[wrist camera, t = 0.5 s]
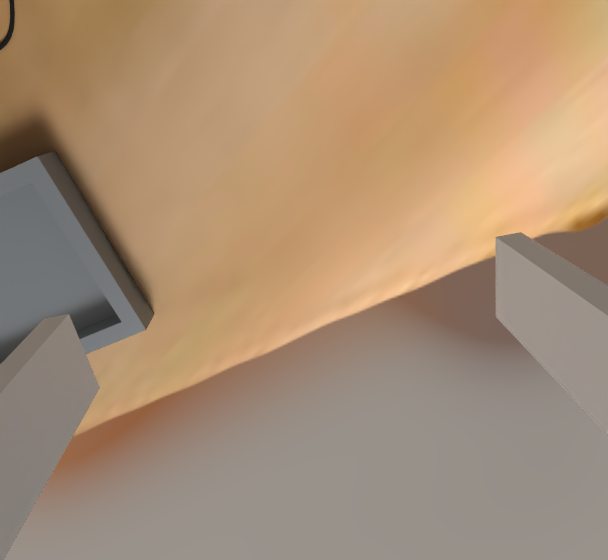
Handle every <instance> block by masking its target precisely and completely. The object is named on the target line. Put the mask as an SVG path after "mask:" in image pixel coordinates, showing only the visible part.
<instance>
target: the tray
mask: <svg viewBox="0 0 608 560" xmlns="http://www.w3.org/2000/svg"><path fill="white" fill-rule="evenodd" d="M66 314H69V315H70V318H71V320H72V323H73V325H74V327H75V330H76V332H77V334H78V337H79V339H80V342H81V344H82V346H83V349H84V351H85V353H86V354H87V353H90V352H92V351H95V350H97V349H100V348H102V347H105V346H107V345H110V344H112V343H115V342H117V341H120V340H122V339H124V338H127V337H129V336H132V335H134V334H137V333H139V332H142V331H144V330H146V329H147V327H148V325H149V323H150V321H151V319H152V318H153V316H154V313H153V312H152V310H151V308H150V307H149V305H148V303H147V302H146V300H145V298H144V297H143V295H142V293H141V292H140V290H139V289H138V287H137V285H136V284H135V282H134V280H133V279H132V277H131V275H130V274H129V272H128V270H127V269H126V267H125V266H124V264H123V262H122V261H121V259H120V257H119V256H118V254H117V252H116V251H115V249H114V247H113V246H112V244H111V243H110V241H109V239H108V238H107V236H106V234H105V233H104V231H103V229H102V228H101V226H100V224H99V223H98V221H97V220H96V218H95V216H94V215H93V213H92V211H91V210H90V208H89V206H88V205H87V203H86V202H85V200H84V198H83V197H82V195H81V193H80V192H79V190H78V188H77V187H76V185H75V183H74V182H73V180H72V179H71V177H70V175H69V174H68V172H67V170H66V169H65V167H64V165H63V164H62V162H61V160H60V159H59V157H58V156H57V154H56V152H55V151H53V152H50V153H47V154H43V155H40V156H37V157H35V158H32V159H30V160H28V161H26V162H24V163H21V164H19V165H17V166H15V167H13V168H10V169H8V170H6V171H4V172H2V173H0V364H1V363H2V362H3V361H4V360H5V359H6V358H7V357H8V356H9V355H10V354H11V353H12V352H13V351H14V350H15V349H16V348H17V347H18V345H19V344H20V343H21V342H22V341H23V340H24V339H25V338H26V337H27V336H28V335H29V334H30V333H31V332H32V331H33V330H34V329H35V328H36V327H37V326H38V324H39V323H40V322H41V321H42V320H43V319H44V318H50V317H55V316H61V315H66Z"/></svg>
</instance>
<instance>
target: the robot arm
mask: <svg viewBox="0 0 608 560" xmlns="http://www.w3.org/2000/svg"><path fill="white" fill-rule="evenodd" d="M496 317H497V318H498V319H499V320H500V321H501V323H502V324H504V326H505V327H506V328H507V329H508V330H509V331H510V332H511V333H512V334H513V335H514V336H515V337H516V338H517V339H518V341H519V342H520V343H521V344H522V345H523V346H524V347H525V348H526V349H527V350H528V351H529V352H530V353H531V354H532V355H533V356H534V357H535V359H537V360H538V362H539V363H540V364H541V365H542V366H543V367H544V368H545V369H546V370H547V371H548V372H549V373H550V374H551V375H552V376H553V378H554V379H555V380H556V381H557V382H558V383H559V384H560V385H561V386H562V387H563V388H564V389H565V390H566V391H567V392H568V393H569V394H570V396H571V397H572V398H573V399H574V400H575V401H576V402H577V403H578V404H579V405H580V406H581V407H582V408H583V409H584V410H585V411H586V412H587V414H588V415H589V416H590V417H591V418H592V419H593V420H594V421H595V422H596V423H597V424H598V425H599V426H600V427H601V428H602V429H603V430H604V432H605V433H606V434H607V435H608V286H607V285H606V284H604V283H602V282H601V281H599V280H597V279H596V278H594V277H593V276H591V275H589V274H588V273H586V272H584V271H583V270H581V269H580V268H578V267H576V266H575V265H573V264H571V263H570V262H568V261H567V260H565V259H563V258H562V257H560V256H558V255H557V254H555V253H554V252H552V251H550V250H549V249H547V248H545V247H544V246H542V245H540V244H539V243H537V242H536V241H534V240H532V239H531V238H529V237H528V236H526V235H524V234H523V233H521V232H520V233H515V234H509V235H504V236H498V237H496ZM99 388H100V387H99V384H98V382H97V380H96V377H95V375H94V372H93V370H92V368H91V365H90V363H89V361H88V358H87V356H86V353H85V351H84V349H83V346H82V344H81V342H80V339H79V337H78V334H77V332H76V330H75V327H74V325H73V323H72V320H71V318H70V315H69V314H66V315H61V316H55V317H50V318H44V319H43V320H42V321H41V322H40V323H39V324H38V326H37V327H36V328H35V329H34V330H33V331H32V332H31V333H30V334H29V335H28V336H27V337H26V338H25V339H24V340H23V341H22V342H21V343H20V344H19V345H18V347H17V348H16V349H15V350H14V351H13V352H12V353H11V354H10V355H9V356H8V357H7V358H6V359H5V360H4V361H3V362H2V363H1V364H0V560H4V558H5V556H6V555H7V553H8V551H9V549H10V548H11V546H12V544H13V542H14V540H15V538H16V537H17V535H18V533H19V531H20V530H21V528H22V526H23V524H24V523H25V521H26V519H27V517H28V515H29V514H30V512H31V510H32V508H33V506H34V504H35V503H36V501H37V499H38V497H39V496H40V494H41V492H42V490H43V488H44V487H45V485H46V483H47V481H48V480H49V478H50V476H51V474H52V472H53V471H54V469H55V467H56V465H57V463H58V461H59V460H60V458H61V456H62V454H63V452H64V450H65V449H66V447H67V445H68V444H69V442H70V440H71V438H72V437H73V435H74V433H75V431H76V429H77V428H78V426H79V424H80V422H81V420H82V419H83V417H84V415H85V413H86V411H87V410H88V408H89V406H90V404H91V402H92V401H93V399H94V397H95V395H96V394H97V392H98V390H99Z"/></svg>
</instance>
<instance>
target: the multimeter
mask: <svg viewBox="0 0 608 560" xmlns="http://www.w3.org/2000/svg"><path fill="white" fill-rule="evenodd" d="M13 28H14V0H10V26H9V31H8V34H7V36H6V38H5V40H4V41H3V42H2V43H1V44H0V50H1V49H2V48H4V47H5V46H6V45H7V43H8V42H9V40H10V38H11V36H12V33H13Z"/></svg>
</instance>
